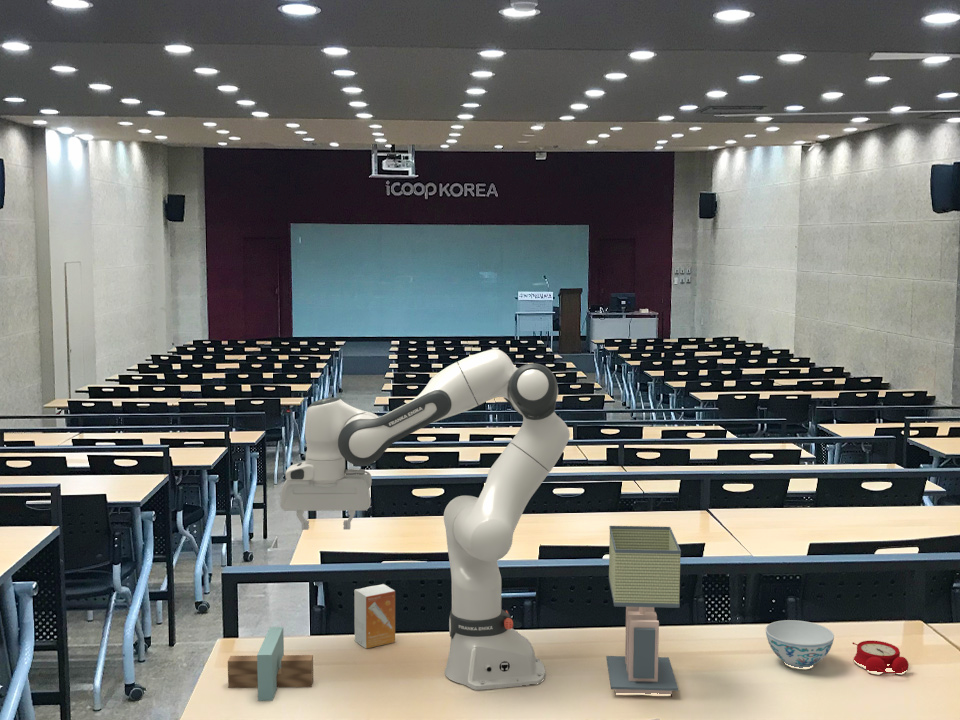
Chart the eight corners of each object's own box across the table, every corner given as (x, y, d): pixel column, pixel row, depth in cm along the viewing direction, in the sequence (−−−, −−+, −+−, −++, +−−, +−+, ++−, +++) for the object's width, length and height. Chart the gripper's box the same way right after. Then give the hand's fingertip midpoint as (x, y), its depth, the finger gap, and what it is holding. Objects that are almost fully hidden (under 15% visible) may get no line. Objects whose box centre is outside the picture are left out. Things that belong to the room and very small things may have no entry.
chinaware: (764, 648, 251) (765, 617, 251) (831, 655, 247) (832, 623, 247) (764, 673, 237) (765, 640, 236) (834, 681, 233) (835, 647, 232)
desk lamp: (605, 664, 242) (608, 525, 238) (668, 666, 241) (671, 526, 237) (611, 699, 223) (613, 549, 220) (678, 701, 223) (682, 550, 219)
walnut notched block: (313, 681, 232) (312, 654, 232) (311, 686, 229) (311, 660, 229) (231, 682, 232) (230, 655, 231) (228, 687, 229) (227, 661, 228)
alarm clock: (889, 639, 248) (917, 649, 234) (890, 666, 248) (918, 678, 233) (845, 639, 248) (870, 649, 233) (846, 666, 247) (872, 679, 233)
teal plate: (284, 669, 239) (283, 627, 237) (272, 700, 223) (271, 654, 222) (270, 669, 239) (269, 627, 237) (258, 700, 223) (257, 655, 221)
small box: (366, 649, 250) (365, 596, 249) (354, 641, 256) (353, 589, 254) (396, 642, 255) (395, 590, 253) (383, 634, 260) (383, 583, 259)
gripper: (372, 466, 242) (373, 525, 244) (282, 466, 242) (284, 525, 243) (370, 472, 236) (371, 532, 237) (278, 472, 235) (279, 533, 237)
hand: (326, 529), depth 240 cm, fingers open, 8 cm apart
